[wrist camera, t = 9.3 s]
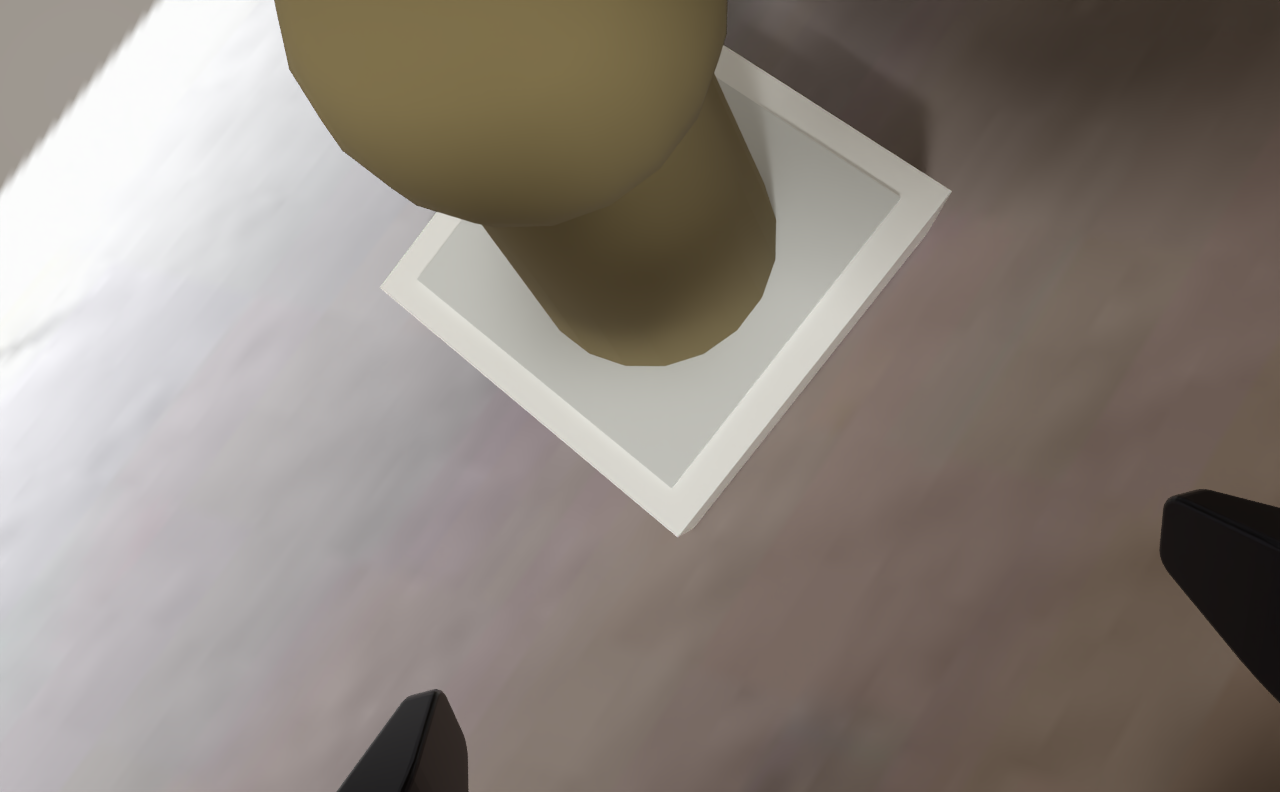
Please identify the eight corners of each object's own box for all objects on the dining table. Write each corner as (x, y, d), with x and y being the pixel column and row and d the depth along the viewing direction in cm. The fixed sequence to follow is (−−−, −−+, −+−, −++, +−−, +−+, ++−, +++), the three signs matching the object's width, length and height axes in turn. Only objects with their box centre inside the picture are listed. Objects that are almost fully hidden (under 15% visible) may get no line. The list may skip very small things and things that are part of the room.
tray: (927, 233, 20) (953, 188, 17) (694, 528, 20) (676, 538, 17) (638, 42, 22) (614, -28, 19) (433, 312, 22) (376, 286, 19)
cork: (518, 149, 19) (156, -291, 8) (757, 98, 18) (714, -488, 7) (542, 384, 18) (178, 248, 7) (795, 346, 17) (808, 119, 6)
